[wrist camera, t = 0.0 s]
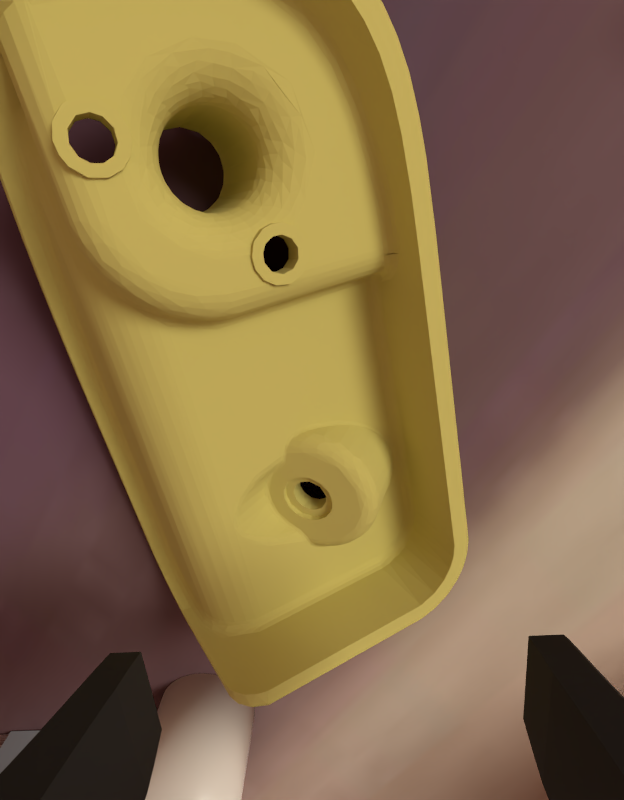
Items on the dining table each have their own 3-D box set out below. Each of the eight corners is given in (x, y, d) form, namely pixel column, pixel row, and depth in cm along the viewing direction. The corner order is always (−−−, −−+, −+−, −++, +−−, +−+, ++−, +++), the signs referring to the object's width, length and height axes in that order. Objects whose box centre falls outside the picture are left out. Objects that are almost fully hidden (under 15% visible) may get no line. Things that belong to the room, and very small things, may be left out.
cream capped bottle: (260, 740, 25) (234, 925, 18) (171, 743, 25) (115, 926, 19) (247, 671, 23) (214, 846, 17) (153, 675, 23) (85, 848, 17)
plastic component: (474, 588, 18) (207, 740, 15) (369, 494, 25) (167, 588, 22) (396, -141, 10) (-190, -127, 7) (272, -2, 17) (-69, 37, 14)
